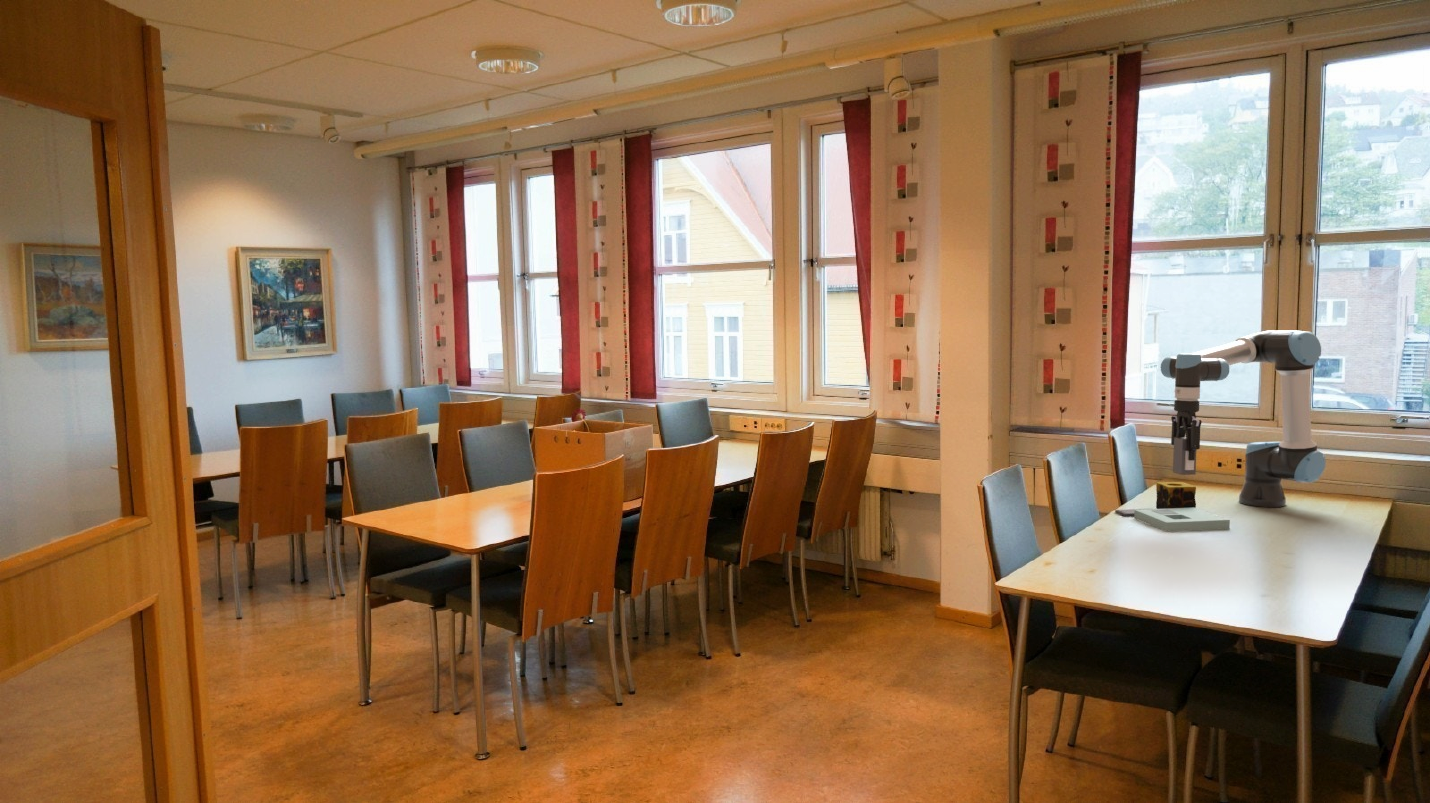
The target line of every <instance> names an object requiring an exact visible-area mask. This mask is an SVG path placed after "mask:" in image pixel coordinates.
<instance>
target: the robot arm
mask: <svg viewBox="0 0 1430 803" xmlns="http://www.w3.org/2000/svg"><path fill="white" fill-rule="evenodd" d="M1321 356H1322V345H1321V343H1320V340H1319V339H1318V337H1317V336H1316V335H1315V334H1314V333H1312V332H1311V331H1304V330H1303V331H1302V330H1276V329H1275V330H1274V329H1271V330H1265V331H1261V332H1257V333H1252V334H1249V335H1246V336H1242V337H1239V338H1236V339H1235V340H1234V341H1233V342H1229V343H1227V344H1223V345H1220V346H1215V347H1212V348H1208V349H1204V350H1200V351H1196V352H1193V353H1190V352H1189V353H1188V352H1187V353H1182V352H1181V353H1178V354H1177V355H1176V356H1167V357H1165V358H1164V359H1163V360H1161V363H1160V372H1161V374H1162V376H1164V377H1165V378H1169V379H1173V380H1174V379H1175V385H1174V387H1175V388H1174V399H1175V400H1174V401H1173V403H1174V404H1173V411H1175V412H1177V413H1176V415H1172V416H1171V418H1170V419H1171V436H1170V437H1171V440H1170V444H1171V445H1172V446H1174V437H1186V442H1187V449H1185V450H1186V452H1185V470H1194V459H1195V451H1196V452H1197V450H1200V449H1201V446H1200V445H1201V444H1200V443H1201V426H1202V420H1201V419H1197V415H1196V413H1197V412H1199V411H1200V401H1199V399H1200V398H1201V382H1218V381H1223V380H1225V379H1227V377H1229V374H1230V366H1231V365H1232V366H1233V365H1236V364H1239V363H1241V364H1250V363H1270V364H1274V370H1275V371H1276V372H1277V373H1278V374H1279V376H1280V377H1279V378H1280V393H1281V394H1280V395H1281V397H1280V399H1281V417H1282V419H1281V420H1282V439H1283V440H1281V441H1277V440H1276V441H1256V442H1249V443H1248V444H1246V448H1245V454H1244V455H1245V461H1244V462H1245V464H1244V465H1245V470H1244V471H1245V472H1244V476H1245V477H1244V484H1243V486H1242V488H1241V490H1240V493H1239V496H1238V502H1239V503H1240V504H1242V505H1247V506H1251V507H1262V508H1279V507H1280V508H1281V507H1285V506H1286V505H1287V499H1286V495H1285V492H1284V489H1283V486H1282V480H1286V481H1292V482H1297V483H1304V484H1305V483H1307V484H1309V483H1310V484H1311V483H1314V482H1316V481H1318V480H1319V479H1320V478H1321V477H1322V475H1323V473H1324V471H1325V468H1326V465H1327V464H1326V463H1327V461H1326V460H1327V459H1326V456H1325V455H1324V453H1323V452H1321V451H1319V450H1318V443H1317V442H1316V441H1314V440H1313V439H1312V419H1311V418H1312V417H1311V395H1310V394H1311V393H1310V391H1311V390H1310V377H1309V376H1310V372H1311V371H1312V370H1314V365H1315V364H1317V363H1318V362H1319V360H1320V357H1321Z"/></svg>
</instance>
